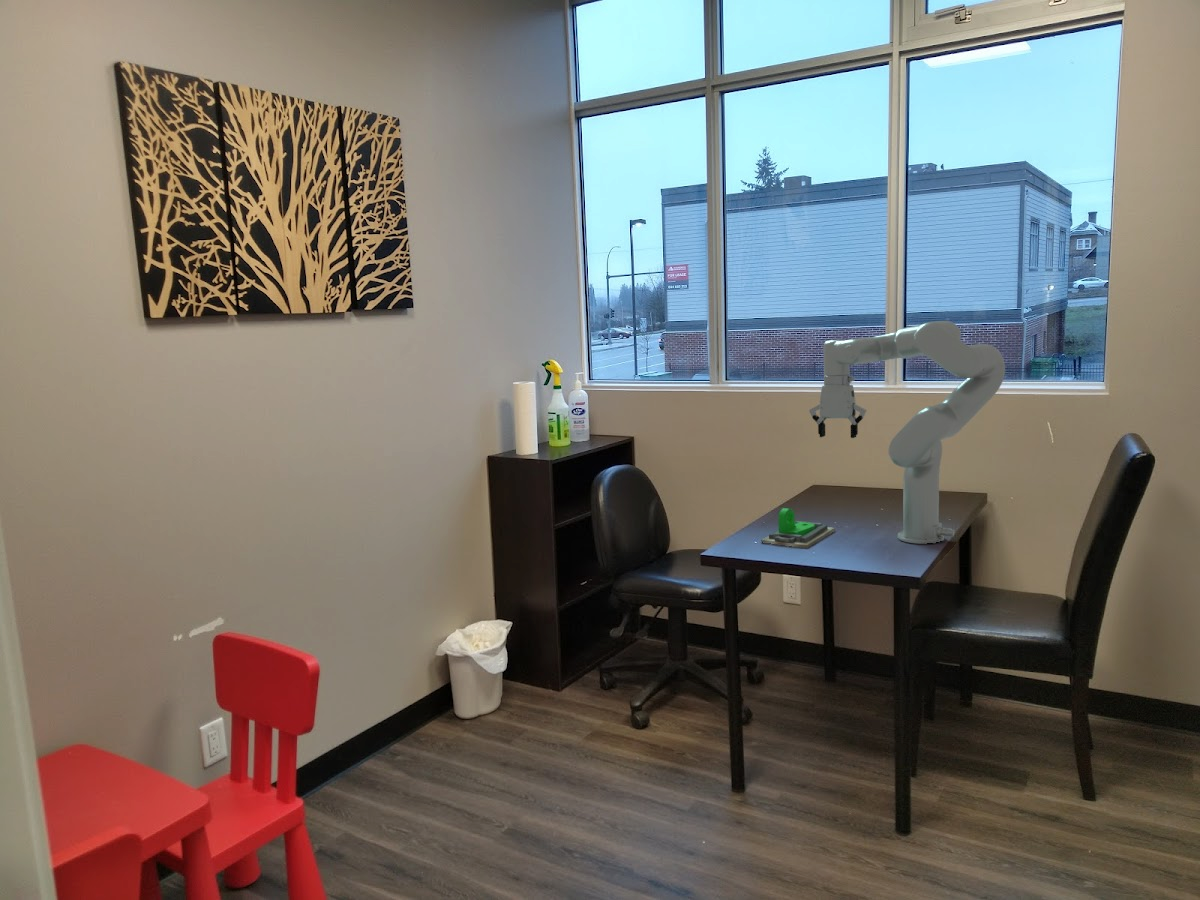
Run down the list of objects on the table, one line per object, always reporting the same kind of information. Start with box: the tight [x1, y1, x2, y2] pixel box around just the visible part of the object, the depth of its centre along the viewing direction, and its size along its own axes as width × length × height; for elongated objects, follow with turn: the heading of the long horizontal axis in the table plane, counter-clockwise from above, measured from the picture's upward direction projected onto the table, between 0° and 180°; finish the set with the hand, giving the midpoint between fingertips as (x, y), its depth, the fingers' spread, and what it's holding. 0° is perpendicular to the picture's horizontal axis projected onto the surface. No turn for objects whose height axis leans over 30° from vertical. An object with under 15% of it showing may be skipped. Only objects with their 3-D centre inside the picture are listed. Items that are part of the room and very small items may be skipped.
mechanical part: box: [778, 507, 815, 536], centre depth 255 cm, size 12×6×8 cm, turn 135°
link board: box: [760, 520, 836, 550], centre depth 256 cm, size 14×22×3 cm, turn 144°
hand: (837, 437), depth 262 cm, fingers open, 9 cm apart
